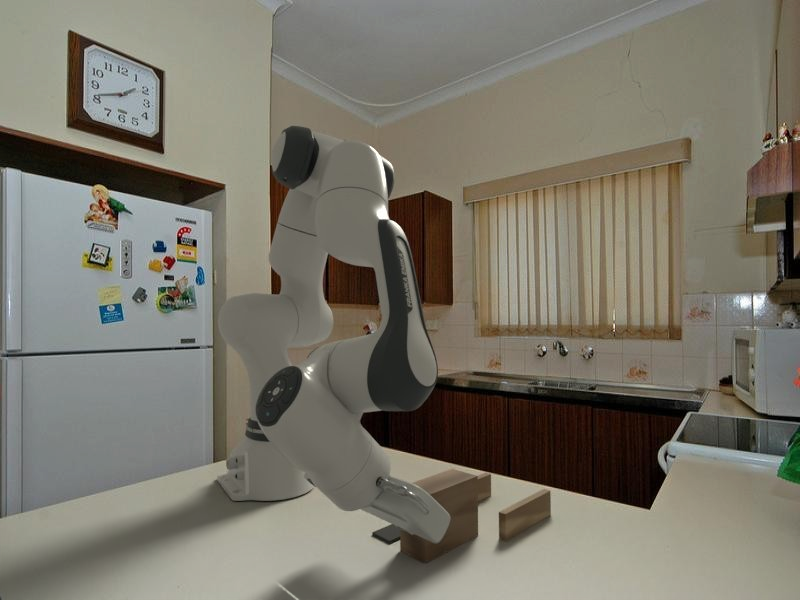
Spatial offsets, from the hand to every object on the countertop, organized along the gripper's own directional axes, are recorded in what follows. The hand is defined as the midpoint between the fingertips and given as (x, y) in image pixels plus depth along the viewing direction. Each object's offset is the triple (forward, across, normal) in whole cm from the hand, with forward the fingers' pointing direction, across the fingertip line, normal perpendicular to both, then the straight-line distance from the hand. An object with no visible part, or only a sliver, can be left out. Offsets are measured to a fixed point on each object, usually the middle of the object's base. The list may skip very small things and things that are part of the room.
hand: (409, 526), depth 64 cm
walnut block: (+8, 0, -2) cm, 8 cm away
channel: (+18, 0, -12) cm, 21 cm away
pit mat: (+6, +7, 0) cm, 9 cm away
